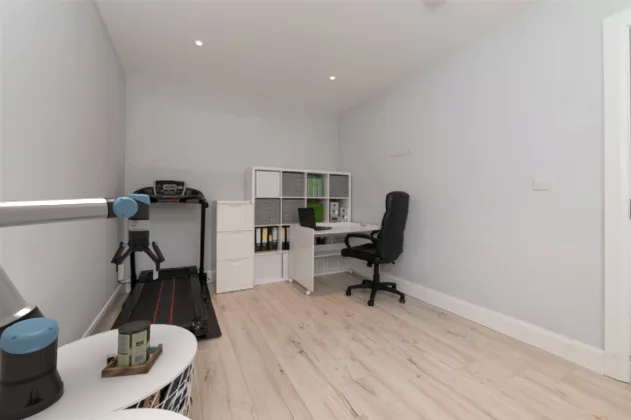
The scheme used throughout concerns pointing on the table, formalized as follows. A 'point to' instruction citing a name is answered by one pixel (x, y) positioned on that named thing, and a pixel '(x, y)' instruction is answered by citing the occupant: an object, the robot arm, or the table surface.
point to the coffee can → (134, 343)
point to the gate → (154, 348)
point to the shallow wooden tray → (129, 367)
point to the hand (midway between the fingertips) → (138, 279)
